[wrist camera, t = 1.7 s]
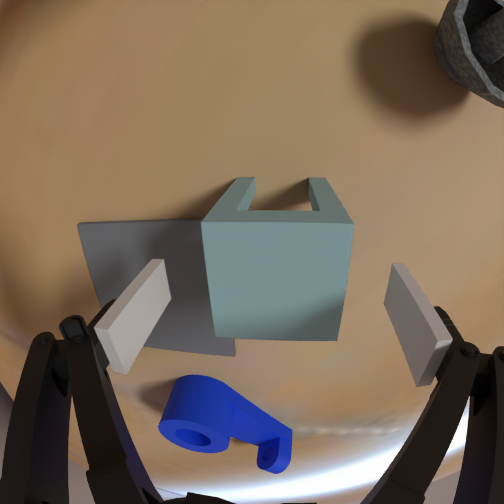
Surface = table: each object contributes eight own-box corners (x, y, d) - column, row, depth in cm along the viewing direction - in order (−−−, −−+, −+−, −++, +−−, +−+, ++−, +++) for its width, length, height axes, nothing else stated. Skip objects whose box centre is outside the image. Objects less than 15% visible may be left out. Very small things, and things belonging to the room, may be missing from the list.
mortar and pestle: (479, 126, 18) (572, 148, 7) (402, 62, 17) (485, 31, 6) (507, 47, 13) (587, 40, 2) (438, -16, 12) (505, -60, 2)
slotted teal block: (237, 177, 23) (200, 222, 14) (325, 178, 23) (353, 223, 13) (241, 256, 27) (215, 336, 17) (321, 257, 26) (337, 340, 16)
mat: (80, 222, 27) (77, 224, 27) (223, 218, 25) (222, 221, 25) (116, 338, 34) (114, 341, 33) (235, 352, 32) (234, 356, 32)
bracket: (164, 388, 38) (147, 429, 31) (196, 364, 34) (180, 412, 27) (262, 441, 42) (257, 478, 35) (302, 424, 38) (301, 466, 31)
